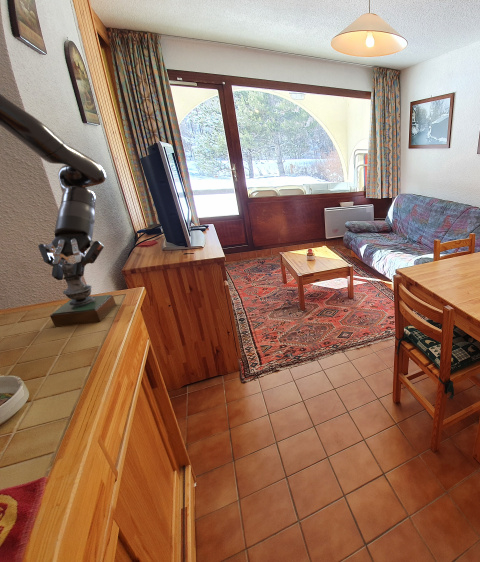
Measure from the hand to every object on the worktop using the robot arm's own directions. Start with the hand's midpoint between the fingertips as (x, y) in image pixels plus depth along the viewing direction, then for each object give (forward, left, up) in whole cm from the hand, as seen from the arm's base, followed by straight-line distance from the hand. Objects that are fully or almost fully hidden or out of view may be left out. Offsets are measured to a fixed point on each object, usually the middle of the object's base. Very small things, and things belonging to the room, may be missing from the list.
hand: (67, 277), depth 81 cm
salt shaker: (0, +2, -8) cm, 8 cm away
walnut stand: (0, +2, -12) cm, 12 cm away
